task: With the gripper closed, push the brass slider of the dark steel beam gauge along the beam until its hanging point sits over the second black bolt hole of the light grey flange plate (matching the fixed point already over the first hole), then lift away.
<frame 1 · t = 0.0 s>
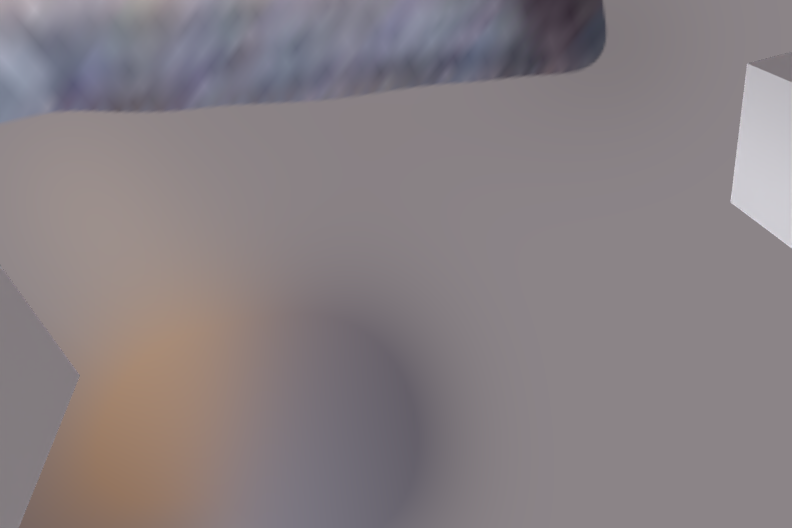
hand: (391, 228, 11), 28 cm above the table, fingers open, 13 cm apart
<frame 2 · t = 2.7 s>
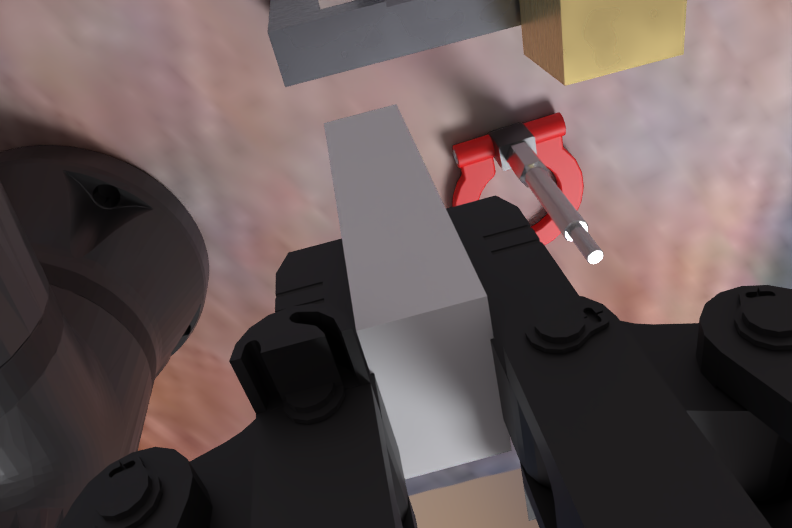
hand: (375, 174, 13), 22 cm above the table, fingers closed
tow hook: (513, 188, 39), on the table
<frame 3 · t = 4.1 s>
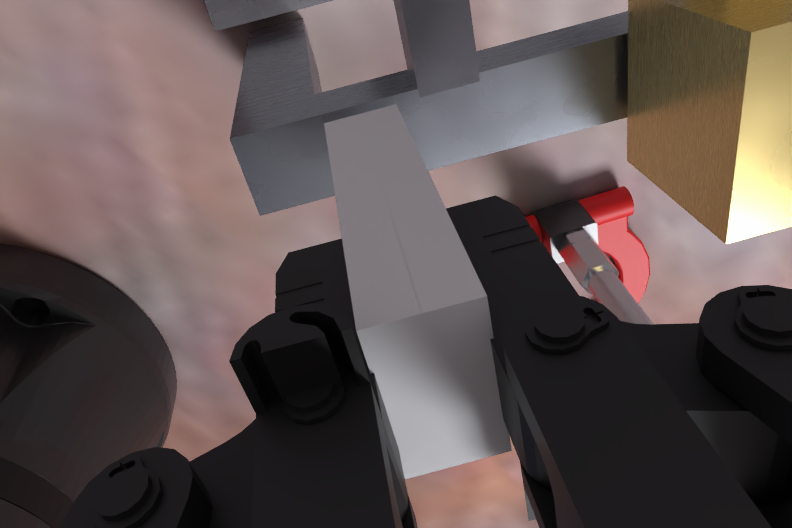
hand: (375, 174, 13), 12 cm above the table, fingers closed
tow hook: (560, 274, 31), on the table
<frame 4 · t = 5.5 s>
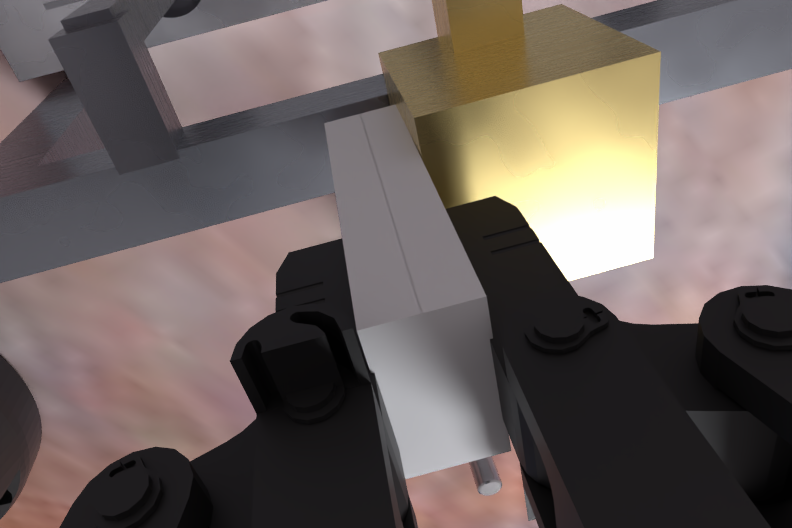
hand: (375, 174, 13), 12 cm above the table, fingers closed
tow hook: (428, 307, 31), on the table
dividers beam: (439, 9, 23), on the table
slider leg: (447, 45, 16), point 8 cm above the table, slide at 1.5 cm, touching gripper
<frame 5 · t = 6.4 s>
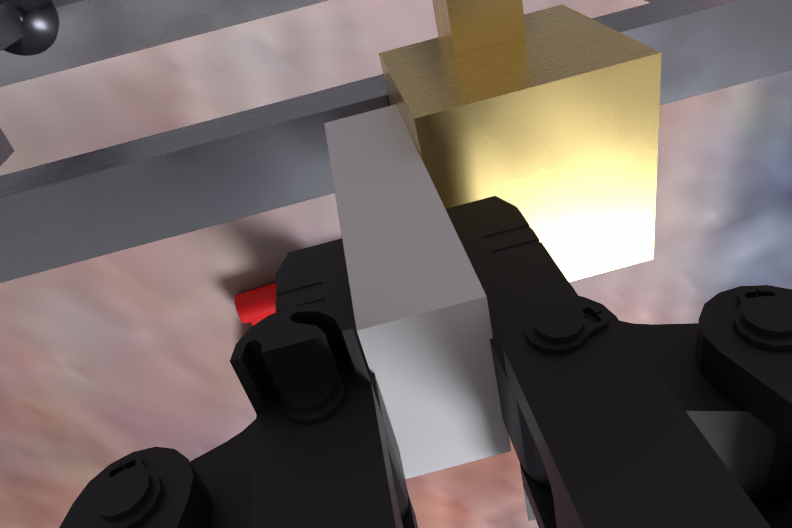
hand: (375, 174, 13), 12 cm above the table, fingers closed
tow hook: (333, 333, 31), on the table
dividers beam: (311, 44, 23), on the table
slider leg: (448, 45, 16), point 8 cm above the table, slide at 6.6 cm, touching gripper
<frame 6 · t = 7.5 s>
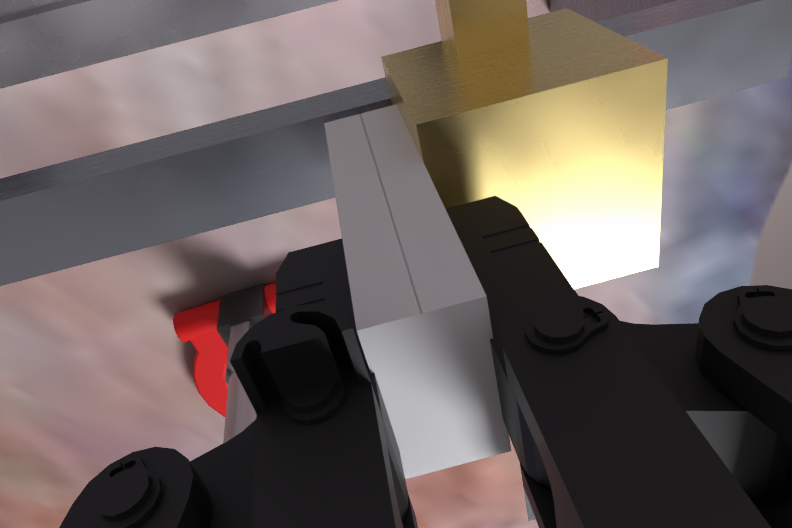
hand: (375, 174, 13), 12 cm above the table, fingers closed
tow hook: (279, 351, 31), on the table
dividers beam: (237, 66, 23), on the table
slider leg: (451, 48, 15), point 8 cm above the table, slide at 9.5 cm, touching gripper
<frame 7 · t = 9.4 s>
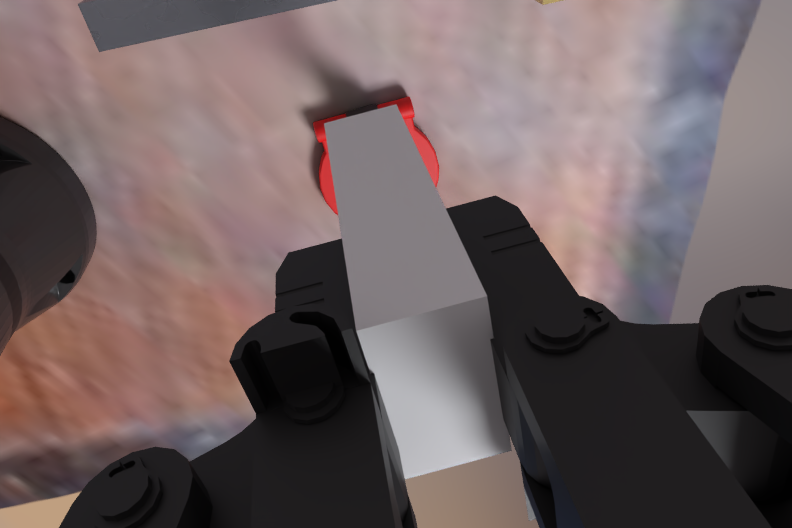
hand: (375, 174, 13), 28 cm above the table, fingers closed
tow hook: (376, 164, 43), on the table
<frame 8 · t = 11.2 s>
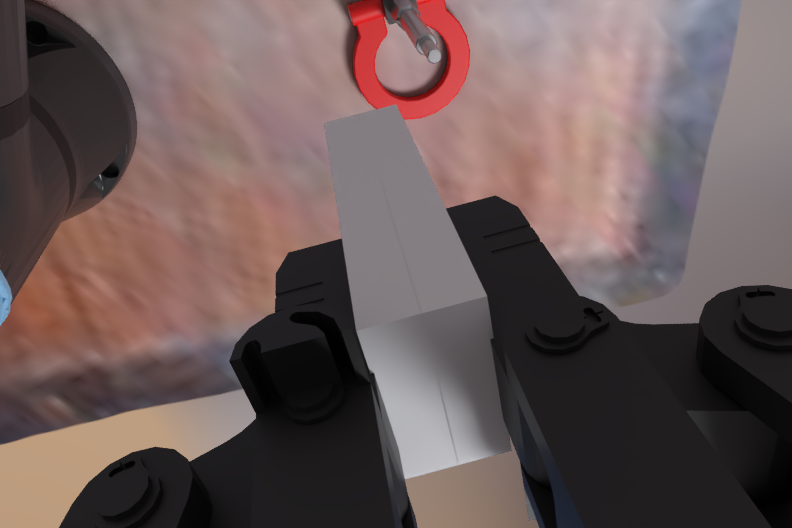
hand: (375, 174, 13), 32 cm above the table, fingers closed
tow hook: (408, 52, 44), on the table
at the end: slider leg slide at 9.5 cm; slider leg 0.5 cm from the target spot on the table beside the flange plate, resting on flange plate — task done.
